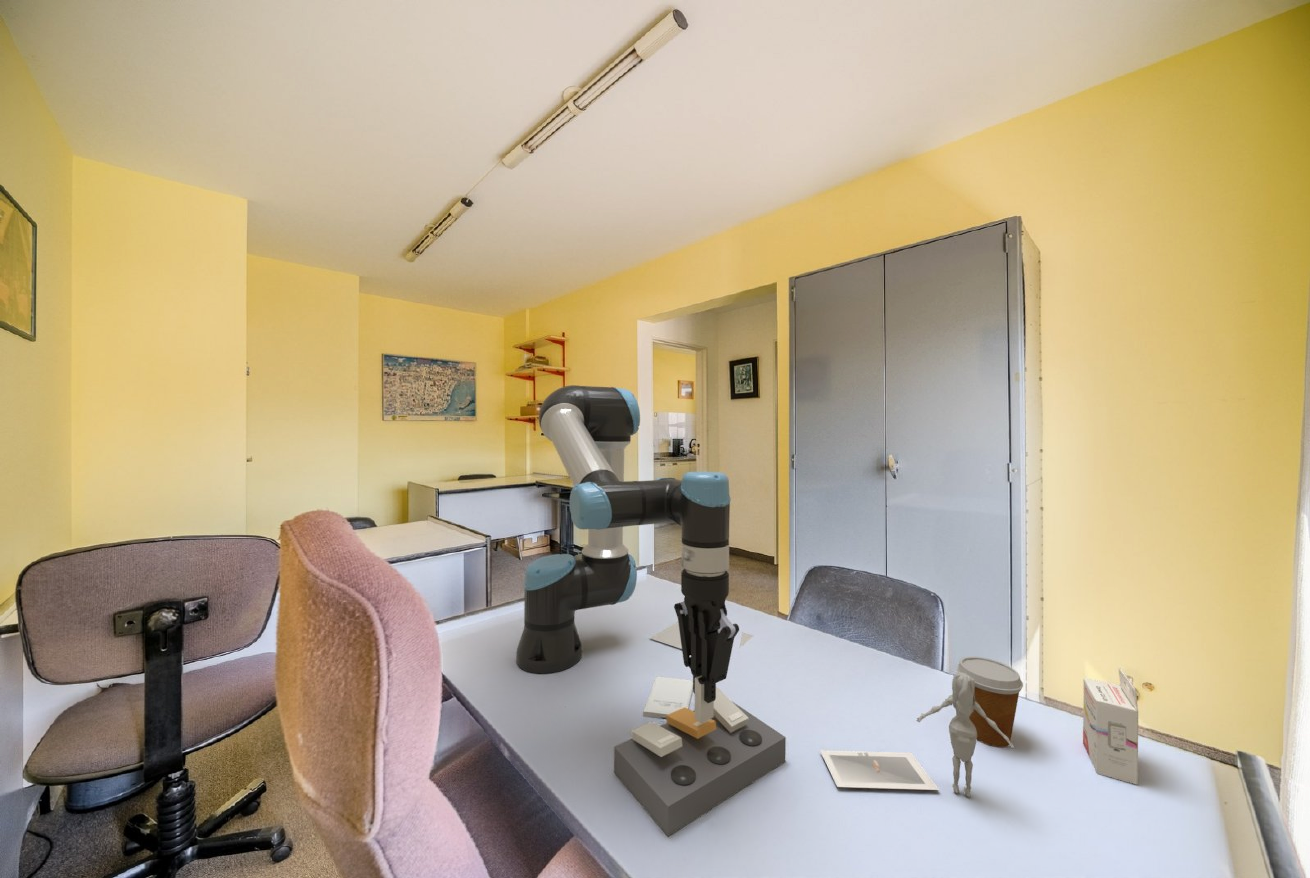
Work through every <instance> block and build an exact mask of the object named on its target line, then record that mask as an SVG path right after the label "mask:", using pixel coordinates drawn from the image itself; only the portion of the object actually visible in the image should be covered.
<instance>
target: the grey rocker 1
mask: <svg viewBox="0 0 1310 878" xmlns="http://www.w3.org/2000/svg"><path fill="white" fill-rule="evenodd" d="M631 739H633V740H635V741H636V742H638V743H639V744H641V745H643V746H644V747H646V748H647V749H649V750H651V751H652V752H654V753H655V754H657V755H659V756H660V757H662V756H664V755H666V754H668V753H670V752H672V751H674V750H676V749H678V748H680V747H682V738H681V737H679V736H677V735H676V734H674V733H672V732H670V731H668V730H666V729H664V728H662V727H661V725H658V724H657V723H655V722H653V721H651V722H648V723H645V724H644V725H641V726H638V727H637V728H635V729H633V730H631Z"/></svg>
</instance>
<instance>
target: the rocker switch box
mask: <svg viewBox="0 0 1310 878" xmlns="http://www.w3.org/2000/svg"><path fill="white" fill-rule="evenodd" d="M732 702H733V703H734V704H735V705H736V706H737V707H738V708H739V709H740V710H741V711H742V712H743V713H744V714H745V715H746V716H747V717H748V718H749V719H748V724H747V725H745V726H743V727H741V728H739V729H737V730H735V731H733V732H731V733H730V732H729V731H728V730H727V729H726V728H725V727H724V725H723V724H722V723H721V722H720V721H719V720H718V719H717V718H716V717H715V716H714V717H713V718H711V719H712V720H714V721H716V730H714V731H712V732H710V733H708V734H706V735H704V736H702V737H700V738H698V739H697V738H695V737H693V736H691V735H689V734H687V733H685V732H684V731H682V730H680V729H678V728H676V727H674V726H672V725H670V724H668V723H667V722H666V723H664V724H661V725H660V726H661V727H662V728H664V729H666V730H668V731H670V732H672V733H674V734H676V735H677V736H679V737H681V738H682V747H680V748H678V749H676V750H674V751H672V752H670V753H668V754H666V755H664V756H662V757H660V756H659V755H657V754H655V753H654V752H652V751H651V750H649V749H647V748H646V747H644V746H643V745H641V744H639V743H638V742H636V741H635V740H633V739H632V738H631V739H629V740H627V741H624V742H622V743H619V744H618V745H616V746H615V745H614V748H613V750H614V751H613V756H614V757H613V760H614V761H613V766H614V767H613V772H614V774H615V775H616V776H617V778H619V780H620V781H621V782H622V783H623V785H624V786H625V787H626V789H628V791H629V792H630V793H631V794H632V796H633V797H634V798H635V799H636V800H637V801H638V802H639V804H640V805H641V806H642V807H643V809H644V810H645V811H646V812H647V813H648V815H649V816H650V817H651V818H652V820H653V821H654V822H655V823H656V824H657V826H659V828H660V829H661V830H662V831H663V833H664V834H665V835H666V836H667V837H670V836H671V835H673V834H674V833H676V832H677V831H679V830H680V829H683V828H684V827H686V826H687V825H688V824H690V823H692V822H694V821H695V820H696V819H698V818H699V817H701V816H703V815H704V814H706V813H707V812H709V811H710V810H712V809H714V808H715V807H717V806H719V805H720V804H721V803H723V802H724V801H726V800H728V799H729V798H731V797H732V796H734V795H735V794H737V793H738V792H740V791H742V790H743V789H746V787H748V786H749V785H751V784H752V783H755V782H756V781H758V780H759V779H760V778H762V777H764V776H765V775H767V774H768V773H770V772H771V771H773V770H775V769H776V768H778V767H779V766H781V765H782V764H784V763H785V762H786V750H787V749H786V741H787V740H786V739H787V738H786V736H785V735H784V734H781V733H780V732H779V731H777V730H775V729H774V728H773V727H771V726H770V725H768V724H767V723H766V722H763V720H761V719H759V718H758V717H756V716H755V715H753V714H752V713H750V712H748V711H747V710H746V709H744V708H743V707H741V706H740V705H738V704H737V703H735V702H734V701H732ZM693 711H694V712H695V709H694V710H693Z"/></svg>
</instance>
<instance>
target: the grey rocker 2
mask: <svg viewBox="0 0 1310 878" xmlns="http://www.w3.org/2000/svg"><path fill="white" fill-rule="evenodd" d="M733 702H734V701H732V700H731V699H730V698H729V697H728V696H727V695H726V694H725V693H724V692H723V691H722V690H721V689H719V687H718V686H716V699H715V701H714V716H715V717H716V718H717V719H718V720H719V721H720V722H721V723H722V724H723V725H724V727H725V728H726V729H727V730H728V731H729V732H730V733H731V732H733V731H735V730H737V729H739V728H741V727H743V726H745V725H747V724H748V719H749V718H748V717H747V716H746V715H745V714H744V713H743V712H742V711H741V710H740V709H739V708H738V707H737V706H736V705H735V704H736V703H735V702H734V703H735V704H734V703H733Z"/></svg>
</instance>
